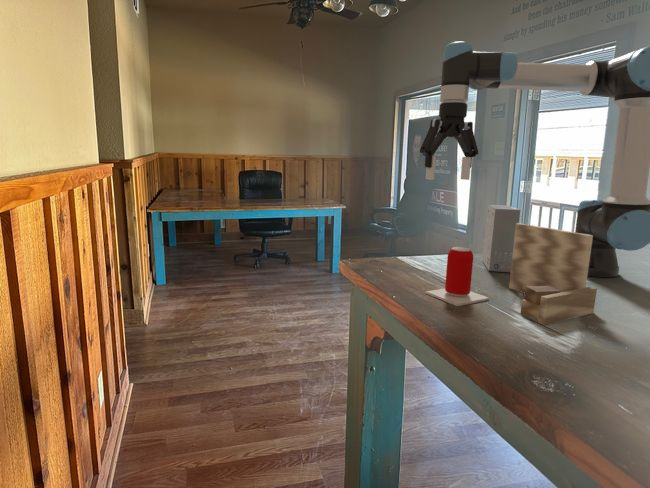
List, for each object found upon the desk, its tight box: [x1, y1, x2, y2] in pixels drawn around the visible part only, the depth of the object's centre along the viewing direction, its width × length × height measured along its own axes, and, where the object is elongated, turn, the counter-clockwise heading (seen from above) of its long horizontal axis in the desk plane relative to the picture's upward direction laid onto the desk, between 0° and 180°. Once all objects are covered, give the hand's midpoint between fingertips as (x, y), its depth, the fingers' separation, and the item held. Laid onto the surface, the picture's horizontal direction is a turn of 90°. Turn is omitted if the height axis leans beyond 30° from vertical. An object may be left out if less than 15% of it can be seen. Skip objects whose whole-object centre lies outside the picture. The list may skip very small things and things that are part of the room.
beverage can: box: [444, 246, 474, 297], centre depth 114 cm, size 6×6×12 cm
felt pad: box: [425, 287, 490, 307], centre depth 115 cm, size 11×11×1 cm
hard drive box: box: [482, 204, 521, 274], centre depth 147 cm, size 16×8×20 cm, turn 168°
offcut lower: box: [520, 299, 540, 321], centre depth 104 cm, size 5×7×4 cm
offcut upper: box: [523, 286, 561, 305], centre depth 103 cm, size 4×6×3 cm, turn 100°
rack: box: [508, 222, 598, 326], centre depth 110 cm, size 23×18×18 cm
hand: (447, 179), depth 130 cm, fingers open, 13 cm apart
